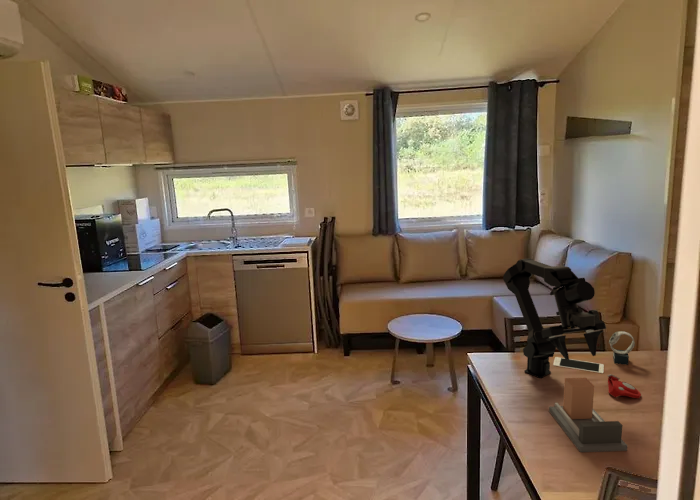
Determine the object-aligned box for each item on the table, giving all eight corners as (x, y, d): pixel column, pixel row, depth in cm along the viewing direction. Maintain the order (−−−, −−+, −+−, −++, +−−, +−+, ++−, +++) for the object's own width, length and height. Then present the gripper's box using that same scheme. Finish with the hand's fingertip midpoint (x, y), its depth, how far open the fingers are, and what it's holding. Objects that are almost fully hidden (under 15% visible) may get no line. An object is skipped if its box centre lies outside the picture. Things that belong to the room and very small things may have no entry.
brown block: (563, 410, 141) (564, 378, 139) (583, 409, 141) (585, 377, 139) (570, 419, 136) (572, 386, 134) (592, 418, 136) (594, 385, 134)
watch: (607, 356, 179) (609, 328, 176) (632, 359, 175) (634, 330, 173) (608, 362, 174) (610, 333, 171) (633, 365, 170) (636, 336, 168)
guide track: (549, 411, 144) (549, 391, 142) (589, 409, 144) (590, 389, 142) (580, 452, 124) (581, 429, 123) (627, 450, 124) (629, 427, 123)
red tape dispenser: (648, 392, 151) (632, 394, 145) (641, 404, 152) (625, 406, 146) (612, 369, 160) (596, 371, 155) (606, 381, 161) (590, 382, 156)
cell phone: (555, 358, 180) (555, 356, 180) (603, 365, 172) (603, 364, 172) (552, 366, 173) (552, 365, 173) (603, 374, 166) (603, 373, 165)
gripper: (555, 304, 140) (569, 359, 136) (611, 298, 144) (626, 351, 139) (535, 311, 150) (547, 362, 146) (587, 305, 154) (600, 354, 150)
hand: (580, 357), depth 145 cm, fingers open, 9 cm apart
